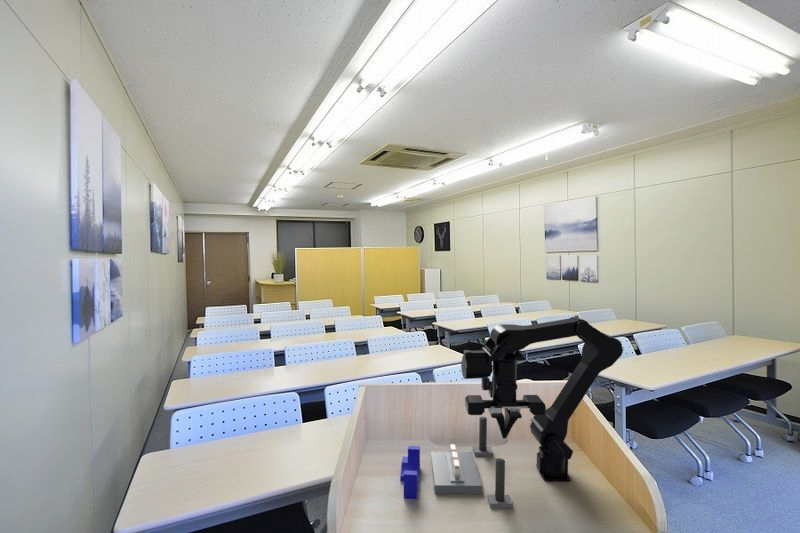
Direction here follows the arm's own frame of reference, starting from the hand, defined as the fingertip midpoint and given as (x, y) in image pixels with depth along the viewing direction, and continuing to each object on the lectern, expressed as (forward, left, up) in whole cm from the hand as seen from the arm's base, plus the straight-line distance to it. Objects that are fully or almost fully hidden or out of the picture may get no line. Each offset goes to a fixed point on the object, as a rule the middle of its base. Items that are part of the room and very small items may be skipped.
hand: (504, 437), depth 95 cm
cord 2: (+3, +10, -10) cm, 14 cm away
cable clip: (+24, +3, -10) cm, 26 cm away
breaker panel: (+12, 0, -10) cm, 16 cm away
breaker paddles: (+12, 0, -8) cm, 14 cm away
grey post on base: (+3, -10, -10) cm, 14 cm away
